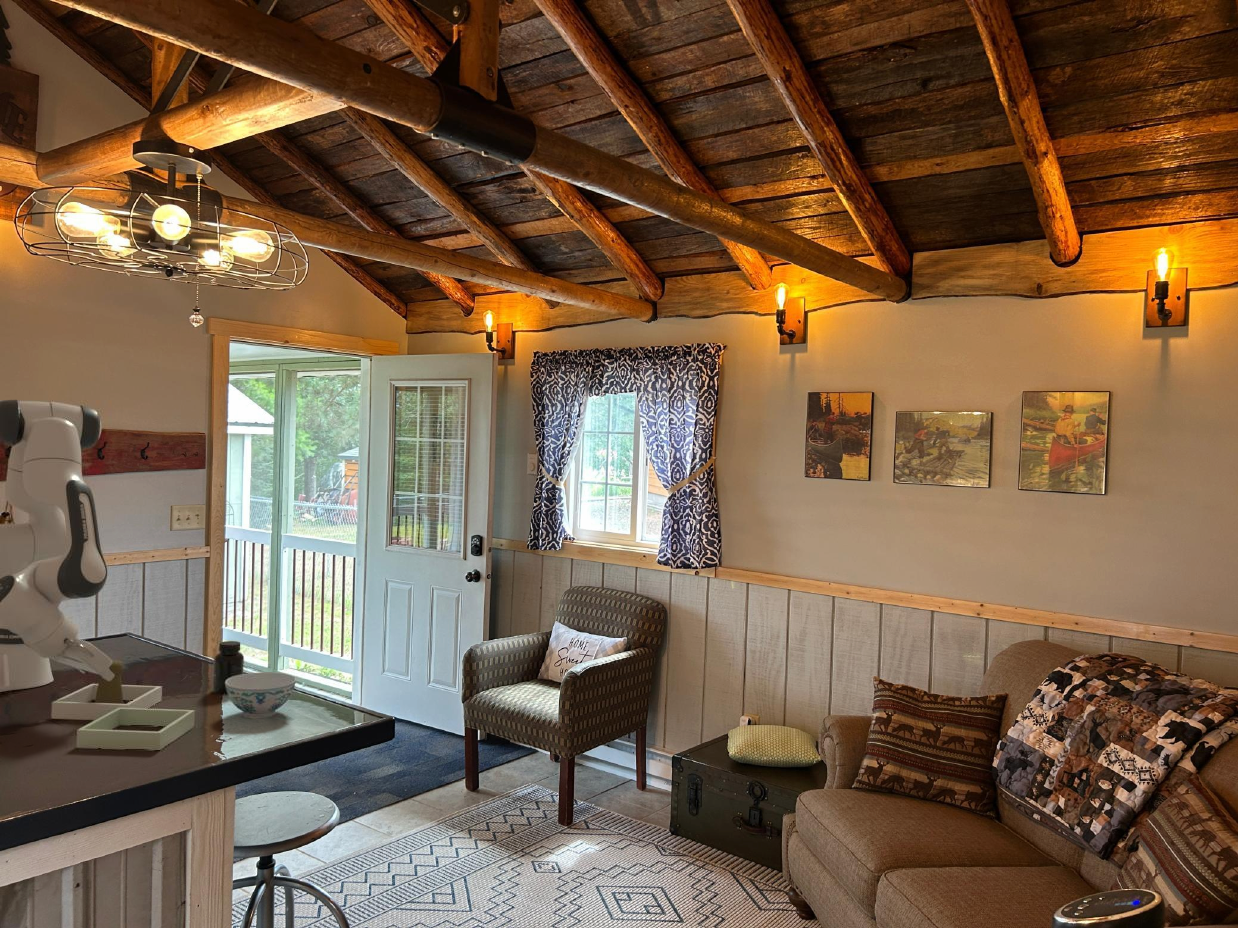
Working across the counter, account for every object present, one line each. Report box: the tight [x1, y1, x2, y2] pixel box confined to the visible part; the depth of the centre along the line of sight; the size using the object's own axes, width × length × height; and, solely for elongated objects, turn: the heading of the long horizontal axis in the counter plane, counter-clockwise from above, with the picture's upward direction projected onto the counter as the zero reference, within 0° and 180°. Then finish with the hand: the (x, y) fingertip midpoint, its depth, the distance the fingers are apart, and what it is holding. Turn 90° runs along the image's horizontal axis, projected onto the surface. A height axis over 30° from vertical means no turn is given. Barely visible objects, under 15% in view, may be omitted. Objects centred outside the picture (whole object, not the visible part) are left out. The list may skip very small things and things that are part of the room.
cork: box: [94, 659, 125, 704], centre depth 203 cm, size 6×6×11 cm
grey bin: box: [51, 683, 163, 721], centre depth 203 cm, size 16×16×4 cm
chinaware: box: [225, 671, 297, 719], centre depth 205 cm, size 15×15×8 cm
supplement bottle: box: [212, 640, 245, 695], centre depth 223 cm, size 7×7×12 cm
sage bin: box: [75, 708, 196, 751], centre depth 186 cm, size 16×16×4 cm
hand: (99, 674), depth 201 cm, fingers open, 8 cm apart
